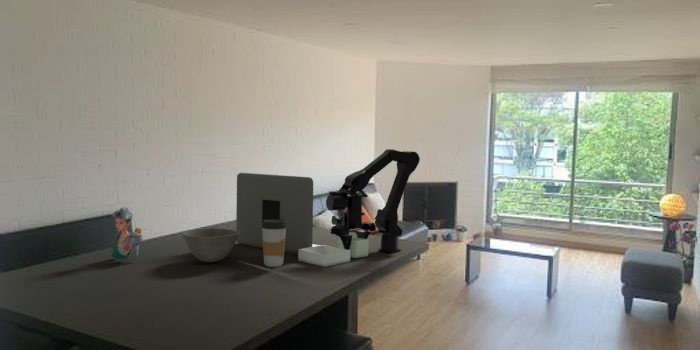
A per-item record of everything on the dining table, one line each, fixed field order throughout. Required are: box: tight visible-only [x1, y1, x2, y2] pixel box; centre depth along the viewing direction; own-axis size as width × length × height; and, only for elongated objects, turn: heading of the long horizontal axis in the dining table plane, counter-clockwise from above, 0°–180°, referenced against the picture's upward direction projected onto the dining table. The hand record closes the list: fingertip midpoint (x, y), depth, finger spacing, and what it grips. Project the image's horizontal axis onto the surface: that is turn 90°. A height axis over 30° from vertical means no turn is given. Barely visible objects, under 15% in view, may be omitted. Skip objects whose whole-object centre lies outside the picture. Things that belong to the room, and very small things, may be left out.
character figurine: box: [111, 206, 143, 260], centre depth 185 cm, size 12×8×18 cm
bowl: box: [182, 227, 239, 263], centre depth 185 cm, size 19×19×10 cm
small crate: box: [337, 236, 370, 259], centre depth 197 cm, size 6×9×6 cm
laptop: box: [235, 172, 320, 255], centre depth 215 cm, size 38×29×29 cm
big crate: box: [297, 244, 351, 268], centre depth 189 cm, size 12×13×4 cm
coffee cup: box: [262, 219, 287, 268], centre depth 181 cm, size 8×8×15 cm
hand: (353, 251), depth 198 cm, fingers closed on small crate, 6 cm apart
